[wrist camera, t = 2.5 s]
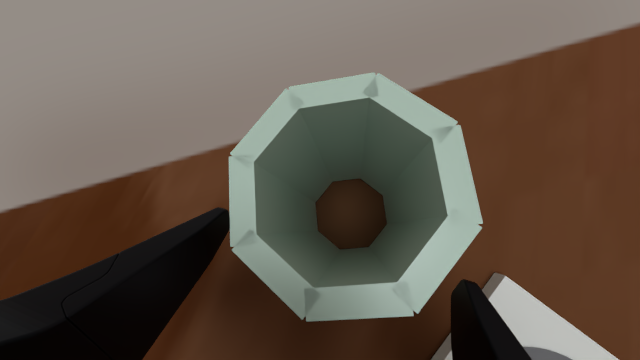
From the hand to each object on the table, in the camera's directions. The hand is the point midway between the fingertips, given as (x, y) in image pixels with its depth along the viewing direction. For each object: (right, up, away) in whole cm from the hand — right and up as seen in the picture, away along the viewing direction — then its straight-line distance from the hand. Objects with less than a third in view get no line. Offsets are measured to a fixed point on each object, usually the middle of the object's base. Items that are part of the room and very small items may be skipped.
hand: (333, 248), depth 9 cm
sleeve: (+2, 0, +9) cm, 10 cm away
